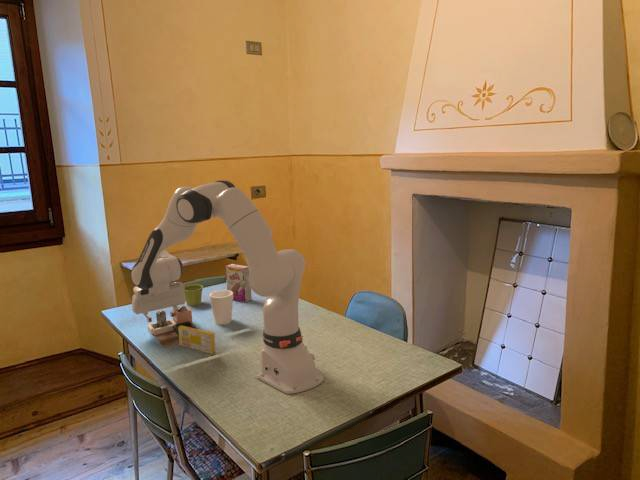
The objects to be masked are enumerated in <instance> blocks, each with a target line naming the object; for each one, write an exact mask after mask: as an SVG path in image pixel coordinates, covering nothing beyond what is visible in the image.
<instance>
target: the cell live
mask: <svg viewBox="0 0 640 480" xmlns="http://www.w3.org/2000/svg"><path fill="white" fill-rule="evenodd" d="M155 317H156V322H157V328H160V327H164V326H167V321H166V320H167V313H166V310H158V311H156V312H155Z"/></svg>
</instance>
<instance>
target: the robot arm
mask: <svg viewBox="0 0 640 480" xmlns="http://www.w3.org/2000/svg"><path fill="white" fill-rule="evenodd" d="M213 218H220V219H221V220H222V221H223V223H224V225H225V226H226V228H227V229H228V230H229V233H230V234H231V235H232V237H233V239H234V240H235V241H236V242H237V244H238V246H239V247H240V249H241V250H242V253H243V255H244V258H245V261H246V264H247V266H248V267H249V284H250V287H251V291H253V292H254V294H257V295H258V296H260V297H266V298H265V301H264V303H263V307H262V310H263V311H262V312H263V315H262V316H263V317H262V318H263V331H262V339H263V346H262V349H261V351H260V358H259V359H260V360H259V361H260V362H259V363H260V367H259V368H260V369H259V372H258V373H257V374H256V378H257V379H258V380H260V381H262V382H264V383H265V384H267V385H269V386H271V387H273V388H275V389H276V390H278V391H281V392H282V393H284V394H286V395H291V394H297V393H302V392H305V391H308V390H310V389H313V388H315V387H318V386H319V385H320V384H322V383H323V382H324V376H323V375H322V373H320V371H319V370H318V369H317V368H316V363H315V359H316V358H315V357H316V356H315V354H314V353H310V351H309V350H308V347H307V345H306V346H305V344H304V341H303V337H304V336H303V335H302V332H301V328H300V326H299V299H300V295H301V285H302V279H303V278H302V277H303V274H304V272H305V268H306V260H305V257H304V255H303V254H302V253H301V252H300V251H298V250H296V249H293V248H290V249H289V248H288V249H287V248H286V249H281V250H279V251H277V249H276V246H275V243H274V240H273V234H274V233H273V230H272V228H271V226H270V225H269V223H268V222H267V221H266V219H265V218H264V216H263V214H262V213H261V212H260V211H259V209H258V208H257V206H256V205H255V204H254V202H253V201H252V200H251V199H250V197H249V196H248V195H247V194H246V193H245V192H243V190H242V189H240V188H238V187H236V186H235V185H234V183H232V182H231V181H228V180H225V179H224V180H216V181H213V182H209V183H205V184H201V185H198V186H195V187H190V186H181V187H178V188H177V189H176V190H175V191H174V192H173V194H172V195H171V198H170V200H169V203H168V205H167V208H166V212H165V215H164V217H163V218H162V220H161V222H160V223H159V224H158V225H157V226H156V227H155V228H154V229H153V230H152V231H151V232H150V233H149V235H148V237H147V239H146V241H145V244H144V246H143V248H142V251H141V253H140V255H139V258H138V260H137V261H136V262H135V263H134V265H133V267H132V268H131V272H130V278H131V281H132V283H133V285H134V287H133V288H132V289H133V293H134V294H133V295H132V298H131V308H132V312H133V313H134V314H135V315H139V314H141V315H142V314H143V315H144V317H145V318H146V322H147V323H148V324H150V323H153V320H152V319H153V318H152V316H148V315H149V313H150V312H155V311H157V310H158V311H160V310H162V309H168V308H171V307H172V309H171V311H170V312H169V314H170V317H171V318H173V317H174V316H175V312H176V310H177V307H178V306H182V305H184V304H185V303H187V302H186V297H185V293H184V290H185V286H186V285H185V284H184V282H181V281H179V280H180V279H181V278H182V276H183V273H184V264H183V261H182V260H181V259H180V258H179V257H177V256H175V255H171V254H170V253H169V252H168V251H167V250H166V249H168V248H169V247H172V246H173V245H175V244H178V243H180V242H184V241H186V240H188V239H189V238H190V237H191V236H192V235H193V234H194V233H195V231H196V229H197V227H198V223H199V224H200V223H203V222H206V221H209V220H210V219H213ZM177 280H178V281H177Z"/></svg>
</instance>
